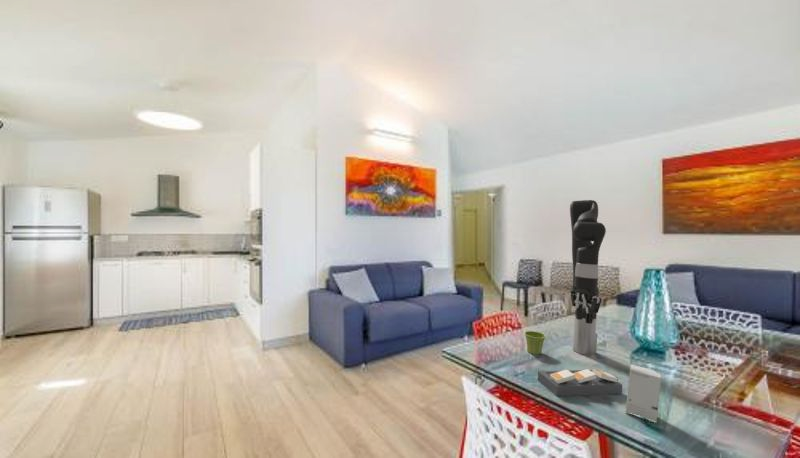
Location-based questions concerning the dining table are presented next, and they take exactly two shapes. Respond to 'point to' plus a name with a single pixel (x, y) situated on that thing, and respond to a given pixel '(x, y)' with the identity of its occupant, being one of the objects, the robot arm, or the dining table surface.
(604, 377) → the rocker
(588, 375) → the rocker
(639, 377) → the skincare box
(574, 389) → the power strip
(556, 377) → the rocker
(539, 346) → the plant pot
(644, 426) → the dining table surface
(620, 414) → the dining table surface
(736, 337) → the dining table surface
